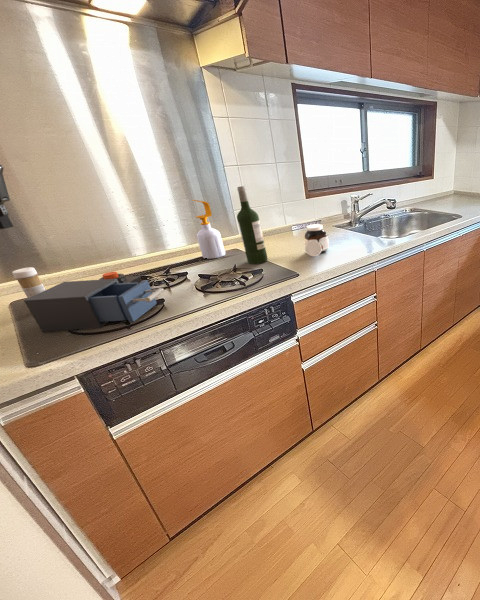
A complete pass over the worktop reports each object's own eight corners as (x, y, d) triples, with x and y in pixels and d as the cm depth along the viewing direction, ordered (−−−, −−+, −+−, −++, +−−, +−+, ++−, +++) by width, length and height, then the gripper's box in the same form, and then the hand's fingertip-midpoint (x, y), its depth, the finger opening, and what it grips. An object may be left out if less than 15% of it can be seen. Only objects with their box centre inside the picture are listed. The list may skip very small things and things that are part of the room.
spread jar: (325, 247, 152) (322, 222, 147) (334, 253, 144) (331, 227, 139) (300, 252, 146) (296, 226, 141) (308, 258, 138) (304, 231, 133)
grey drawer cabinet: (129, 307, 100) (117, 278, 96) (100, 328, 89) (84, 296, 84) (79, 310, 99) (63, 281, 94) (42, 332, 87) (23, 300, 83)
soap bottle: (199, 257, 144) (181, 200, 133) (219, 251, 150) (203, 197, 140) (209, 260, 139) (192, 201, 128) (229, 255, 146) (214, 198, 135)
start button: (101, 280, 111) (99, 276, 110) (109, 276, 114) (107, 271, 114) (113, 280, 111) (111, 275, 110) (121, 275, 115) (119, 271, 114)
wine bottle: (268, 262, 135) (251, 187, 122) (247, 265, 132) (228, 188, 119) (267, 257, 141) (251, 185, 128) (248, 259, 139) (230, 186, 126)
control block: (87, 294, 109) (81, 283, 108) (107, 283, 118) (103, 273, 117) (124, 292, 110) (120, 281, 109) (142, 281, 119) (138, 271, 118)
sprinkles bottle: (54, 305, 102) (32, 265, 96) (58, 309, 100) (35, 268, 94) (34, 311, 99) (10, 270, 93) (37, 315, 96) (12, 273, 90)
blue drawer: (173, 302, 100) (165, 279, 97) (152, 320, 90) (141, 295, 86) (110, 306, 98) (99, 283, 95) (81, 325, 88) (67, 299, 85)
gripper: (-3, 136, 87) (42, 223, 97) (-57, 137, 86) (-6, 226, 96) (-33, 135, 80) (18, 229, 91) (-92, 137, 79) (-33, 232, 90)
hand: (6, 227), depth 94 cm, fingers closed
